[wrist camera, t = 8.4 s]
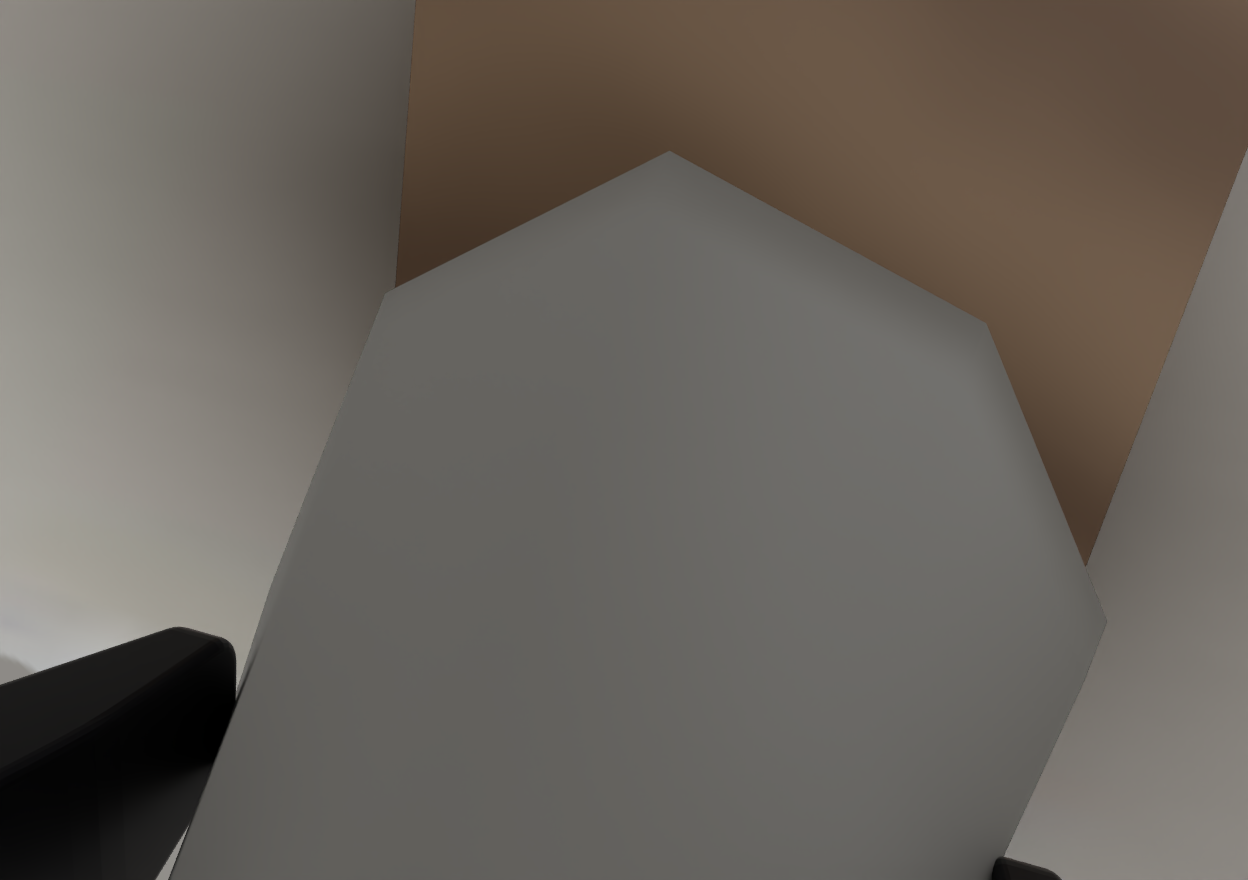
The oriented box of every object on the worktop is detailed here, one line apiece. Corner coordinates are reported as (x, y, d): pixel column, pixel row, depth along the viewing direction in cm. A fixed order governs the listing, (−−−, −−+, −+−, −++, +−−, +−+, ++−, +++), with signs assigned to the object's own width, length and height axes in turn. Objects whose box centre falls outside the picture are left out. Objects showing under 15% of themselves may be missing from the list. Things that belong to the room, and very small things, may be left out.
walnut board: (951, 859, 21) (954, 905, 20) (387, 701, 23) (363, 735, 22) (1334, -164, 14) (1373, -179, 13) (468, -287, 16) (437, -308, 15)
